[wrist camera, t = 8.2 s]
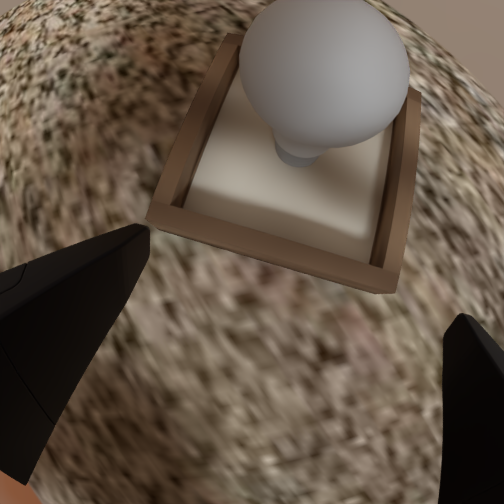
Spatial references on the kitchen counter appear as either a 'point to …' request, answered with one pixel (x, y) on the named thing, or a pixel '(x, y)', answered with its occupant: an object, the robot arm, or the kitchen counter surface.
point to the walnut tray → (288, 188)
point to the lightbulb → (323, 74)
